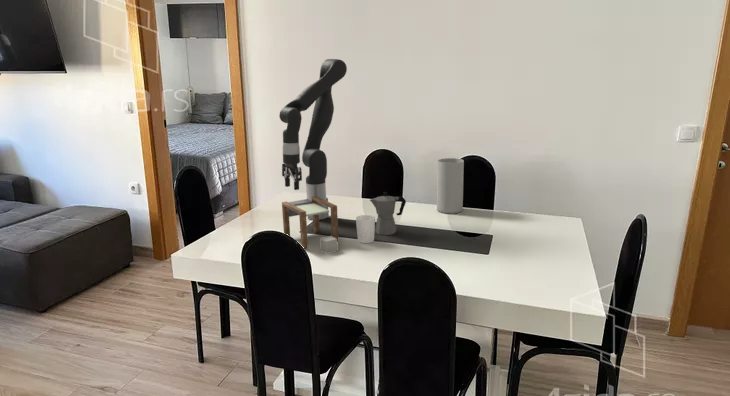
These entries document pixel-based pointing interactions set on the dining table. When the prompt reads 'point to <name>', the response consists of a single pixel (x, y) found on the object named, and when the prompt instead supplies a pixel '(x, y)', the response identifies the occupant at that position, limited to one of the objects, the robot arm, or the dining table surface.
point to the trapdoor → (307, 208)
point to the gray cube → (328, 244)
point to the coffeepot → (386, 213)
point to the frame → (304, 223)
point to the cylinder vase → (450, 185)
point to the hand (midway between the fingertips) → (292, 188)
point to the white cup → (365, 228)
